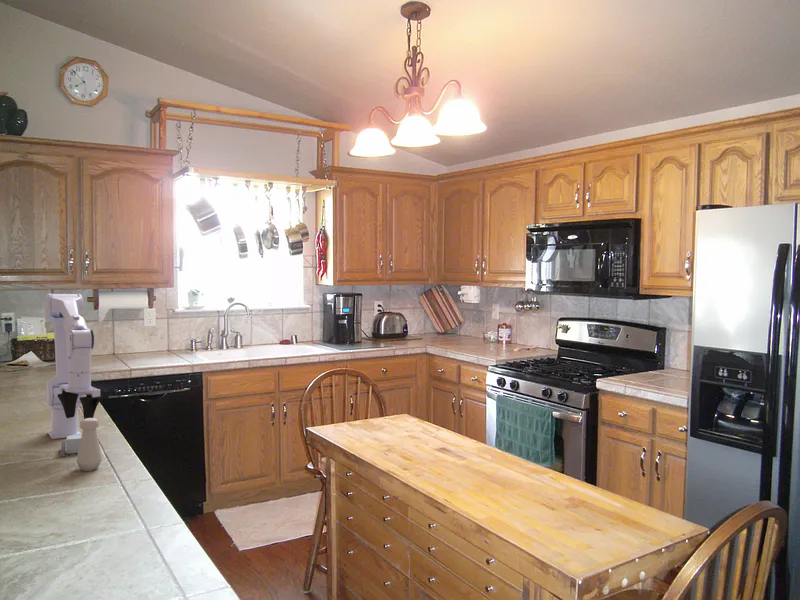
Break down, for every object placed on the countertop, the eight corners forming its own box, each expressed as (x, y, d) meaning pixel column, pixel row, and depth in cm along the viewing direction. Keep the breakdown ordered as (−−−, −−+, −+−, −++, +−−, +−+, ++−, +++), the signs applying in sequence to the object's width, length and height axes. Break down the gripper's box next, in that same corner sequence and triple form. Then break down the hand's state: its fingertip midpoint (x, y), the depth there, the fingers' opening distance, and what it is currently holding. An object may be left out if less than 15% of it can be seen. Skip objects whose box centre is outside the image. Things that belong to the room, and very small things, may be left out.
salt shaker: (95, 463, 159) (96, 415, 158) (105, 468, 155) (106, 418, 155) (72, 468, 154) (72, 418, 154) (82, 473, 151) (82, 422, 150)
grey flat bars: (62, 448, 172) (62, 441, 171) (88, 446, 175) (88, 439, 174) (60, 457, 164) (60, 449, 163) (87, 454, 167) (88, 447, 166)
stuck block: (66, 449, 169) (67, 436, 169) (82, 448, 171) (83, 434, 171) (66, 453, 166) (66, 439, 166) (82, 452, 168) (82, 438, 168)
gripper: (49, 371, 169) (49, 418, 169) (84, 376, 163) (84, 425, 163) (72, 368, 175) (71, 413, 176) (107, 372, 169) (106, 420, 170)
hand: (79, 419), depth 170 cm, fingers open, 7 cm apart
